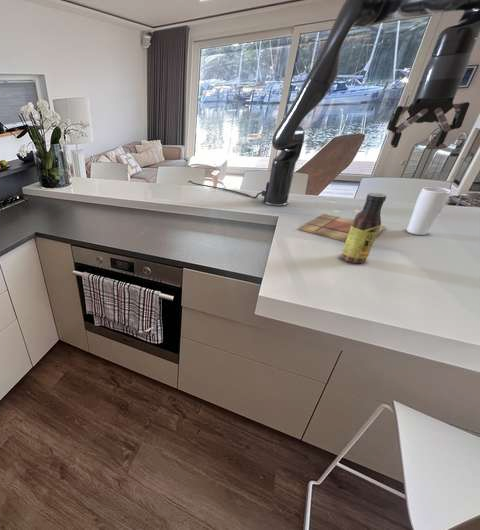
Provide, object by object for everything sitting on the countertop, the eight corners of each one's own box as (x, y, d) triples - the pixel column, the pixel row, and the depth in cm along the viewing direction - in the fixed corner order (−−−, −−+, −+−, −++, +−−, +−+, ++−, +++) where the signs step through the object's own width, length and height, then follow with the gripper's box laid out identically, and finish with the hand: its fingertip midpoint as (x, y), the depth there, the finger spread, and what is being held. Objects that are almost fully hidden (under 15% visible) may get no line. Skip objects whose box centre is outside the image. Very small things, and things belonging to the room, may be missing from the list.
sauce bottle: (360, 266, 83) (387, 199, 73) (336, 259, 88) (358, 195, 78) (369, 259, 86) (395, 194, 77) (345, 252, 91) (367, 190, 81)
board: (299, 229, 108) (300, 226, 107) (323, 216, 118) (324, 213, 117) (363, 246, 94) (364, 242, 93) (384, 228, 104) (385, 225, 103)
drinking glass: (426, 230, 100) (447, 187, 93) (432, 237, 95) (455, 193, 88) (401, 227, 103) (419, 186, 96) (405, 234, 98) (425, 191, 91)
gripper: (475, 74, 71) (444, 144, 79) (400, 81, 77) (378, 145, 85) (490, 73, 65) (455, 148, 73) (408, 80, 72) (384, 149, 79)
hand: (414, 146), depth 79 cm, fingers open, 8 cm apart
